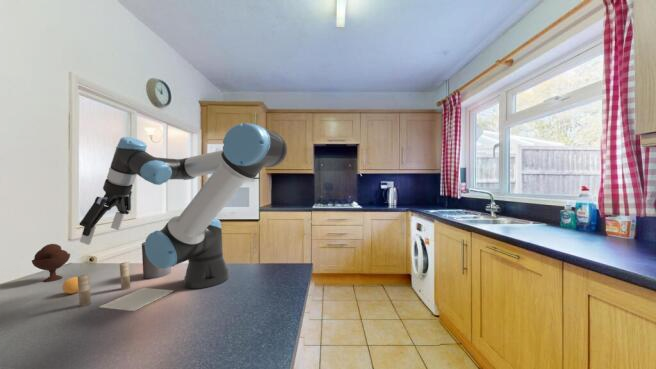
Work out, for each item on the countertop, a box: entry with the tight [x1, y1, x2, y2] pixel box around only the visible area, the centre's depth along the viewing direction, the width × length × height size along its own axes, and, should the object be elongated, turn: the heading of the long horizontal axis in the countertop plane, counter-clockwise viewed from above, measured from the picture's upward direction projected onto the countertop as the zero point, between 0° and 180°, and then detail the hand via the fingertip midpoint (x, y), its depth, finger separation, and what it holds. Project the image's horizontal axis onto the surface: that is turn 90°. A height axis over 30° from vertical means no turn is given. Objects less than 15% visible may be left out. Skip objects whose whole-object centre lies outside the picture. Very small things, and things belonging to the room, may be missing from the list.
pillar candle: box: [141, 241, 172, 280], centre depth 108 cm, size 10×10×15 cm
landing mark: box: [98, 287, 175, 312], centre depth 84 cm, size 14×14×1 cm
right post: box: [119, 261, 131, 291], centre depth 94 cm, size 3×3×9 cm
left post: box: [77, 274, 92, 308], centre depth 82 cm, size 3×3×9 cm
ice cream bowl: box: [31, 243, 71, 283], centre depth 109 cm, size 11×11×15 cm
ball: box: [62, 276, 79, 295], centre depth 93 cm, size 6×6×6 cm
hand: (101, 235), depth 93 cm, fingers open, 13 cm apart
